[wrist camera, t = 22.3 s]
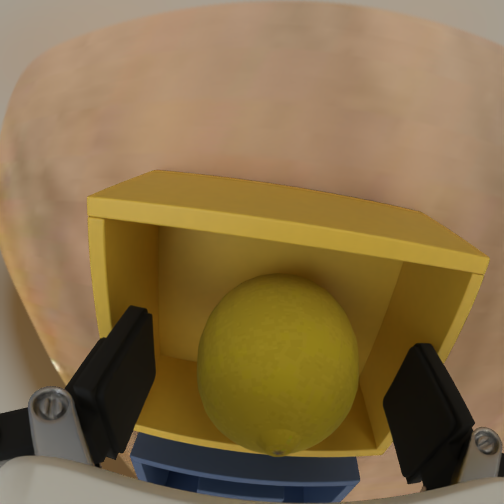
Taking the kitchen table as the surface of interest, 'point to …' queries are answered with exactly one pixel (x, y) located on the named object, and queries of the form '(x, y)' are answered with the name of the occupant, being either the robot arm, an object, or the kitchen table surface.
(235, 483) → the blue block
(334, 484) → the blue bin
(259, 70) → the kitchen table surface
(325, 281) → the yellow bin
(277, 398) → the lemon
